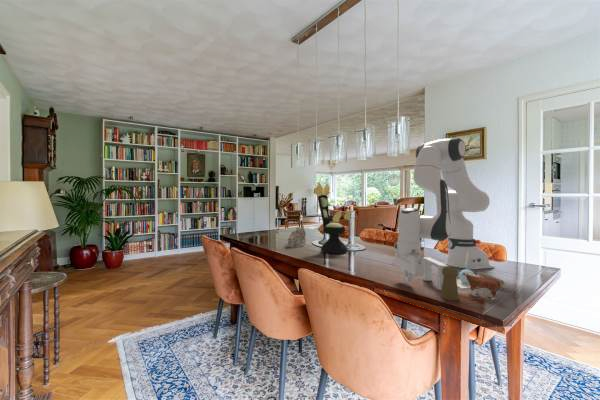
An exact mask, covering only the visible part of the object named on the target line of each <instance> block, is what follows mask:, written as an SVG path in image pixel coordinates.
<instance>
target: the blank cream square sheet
mask: <svg viewBox="0 0 600 400" xmlns="http://www.w3.org/2000/svg"><path fill="white" fill-rule="evenodd" d="M456 280H457V288H458V289H461V290H462V289H463V290H464V289H469V290H470V289H471V287H470V285H469V284H465V283H463V282H462V281H461V280H460V278H456Z"/></svg>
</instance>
